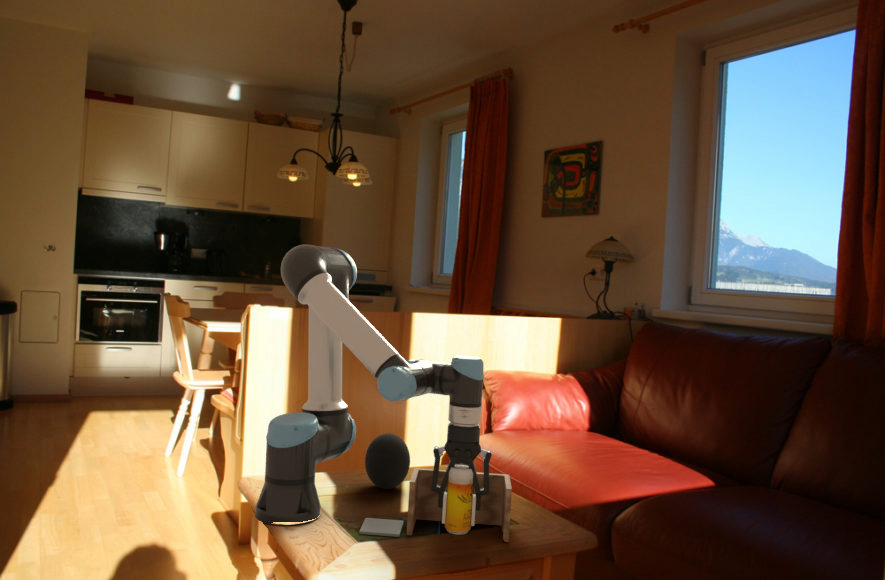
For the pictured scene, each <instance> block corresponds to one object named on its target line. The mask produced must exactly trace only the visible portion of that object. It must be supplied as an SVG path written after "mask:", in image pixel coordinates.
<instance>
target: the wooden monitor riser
mask: <svg viewBox="0 0 885 580" xmlns="http://www.w3.org/2000/svg"><path fill="white" fill-rule="evenodd" d="M446 470H447V469H446ZM446 470H445V469H439V474H438V481H437V485H439V486H440V485H441V483H442V480H443V478H444V475H445V472H446ZM433 471H434V468H422V467H421V468H419V467H413V471H412V474H411V477H410V480H409V485H408V489H409V490H408V501H407V502H408V504H407V506H408V507H407V520H406V536H413V533H414V532H413V531H414V529H415V524H416V520H423V521H433V522H434V521H436V522H442V512H443V508H439V507H438V497H439V494H438V493H437V492H435V491H432V490H431V486H432V478H433ZM476 473H477V477H478V481H479V485H480V489H483V488H484V472H478V471H476ZM511 483H512V482H511V477H510V474H505V473H504V474H502V473H492V472H491V473H490V472H489V494H488V495H483V496H482V497H481V505H480V510H479V511H477V510H475V522H474V525H476V524H477V525H479V524H480V525H489V526H501V532H503V535H502V541H503V540H509V541H510V529H511V527H510V526H511V511H512V509H511V507H512V496H513V495H512V494H513V487H512V484H511ZM444 492H447V486H446V489H445V491H444ZM473 494H476V493H475V489H474V486H473Z"/></svg>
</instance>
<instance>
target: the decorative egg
mask: <svg viewBox="0 0 885 580" xmlns="http://www.w3.org/2000/svg"><path fill="white" fill-rule="evenodd" d="M408 447H409V446H408V445H407V443H406V441H404V439H402V437H400V435H397V434H394V433H391V432H385V433H381V434H380V435H379V434H378V436H375V438H374V439H373V440H372V441H371V442H370V444H369V445H368V447H367V449H366V453H365V456H364V465H365V472H366V475H367V477H368V479H369V480H370V481H371V483H372V484H374V485H375V486H376V487H377V488H380V489H384V490H391V489H394V488H396V487H398V486H400V485H401V484H402V483H403V482H404V480H405V479H406V477H407V476H408V473H409V470H410V465H411V456H410V455H411V454H410V450H409V448H408Z"/></svg>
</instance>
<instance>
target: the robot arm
mask: <svg viewBox="0 0 885 580" xmlns="http://www.w3.org/2000/svg"><path fill="white" fill-rule="evenodd" d="M280 265H281V266H280V275H281V279H282V282H283V283H284V285H285V287H286V289H287V290H288V291H289V293H290V294H291V295H292V296H293V297H294V299H296V300H297V301H298V302H299V303H300V304H301V305H307V306H308V355H307V357H308V361H307V362H308V363H307V364H308V365H307V366H308V367H307V368H308V370H307V371H308V377H307V378H308V379H307V384H308V386H307V387H308V388H307V391H308V393H307V395H308V396H307V398H308V399H307V401H306V402H304V404H303V405H302V406H301V412H300V411H299V412H298V411H296V412H292V413H289V412H288V413H284V414H279V415H277V416H275V417H273V418H272V419H271V420H270V422H269V423H268V427H267V434H266V437H265V438H266V451H265V452H266V453H265V472H264V483H263V486H262V488H261V490H260V491H261V492H260V494H259V497H258V498H257V499H258V500H257V502H256V504H255V513H254V514H255V515H254V517H255V519H257V520H258V521H259V522H262V523H264V524H266V525H272V524H271V523H273V522H303V521H308V520H312V519H315V518H317V517H318V516H319V515H320V516H321V508H322V507H321V505H322V504H321V502H320V499H319V493H318V490H317V487H316V483H315V482H316V465H317V464H319V463H322V462H325V461H328V460H332V459H336V458H338V457H340V456H342V455H344V454H345V453H346V452H347V451H349V450H350V449H351V448H352V446H353V444H354V442H355V439H356V437H357V436H356V434H357V427H356V426H357V425H356V423H355V419H353V418H352V415H351V414H350V413H349V405H348V404H347V403H346V402H345V401H344V399H343V344H344V346H345V347H347V348H348V350H349V351H350V352H351V353H352V354H353V355H354V356H355V358H357V359H358V360H359V362H361V364H362V365H363V366H364V367H365V368H366V369H367V370H368V371H369V372H370V373H371V374H372V375H373V377H374V378H375V379H376V380H377V381H376V382H377V385H376V386H377V389H378V392H379V395H380V396H381V397H382V398H384V399H385V400H386V401H389V402H403V401H407V400H409V399H411V398H415V397H419V396H424V395H427V394H433V395H442V396H448V397H449V402H448V418H447V419H448V421H449V423H447V434H446V442H445V444H444V445H443V446H434V447H433V451H432V452H433V456H434V463H433V469H434V471H433V478H432V486H431V490H432V491H435V492H437V493H438V494H439V497H438V507H439V508H443V512H442V521H441V524H444V525H445V518H446V502H447V492H444V491H445V489H446V486H447V483H448V481H449V471H450V469H451V467H453V468H454V466H455V464H461V463H462V464H465V465H468V466H469V469H472V472H473V485H474V489H475V493H476V494H473V500H472V517H471V527H474V526H475V524H474V522H475V510H477V511H479V510H480V505H481V497H482V496H483V495H488V494H489V473H490V461H491V458H492V450H490V449H487V450H486V449H484V448H482V446H481V445H480V436H481V426H480V425H479V424H480V423H481V422H482V421H481V420H482V408H483V407H482V406H483V405H482V403H483V402H482V401H483V389H484V388H483V387H484V380H485V376H484V360H483V359H482V358H481V357H478V356H473V355H471V356H470V355H455V356H453V357H452V359H451V362H441V361H432V360H431V361H430V360H425V359H409V360H406V359H405V358H404V357H403V356H402V355H401V354H400V353H399V352H398V351H397V349H395V347H393V345H392V344H390V342H388V341H387V339H386V338H385V337H384V336H383V335H382V334H381V333H380V332H379V330H377V329H376V328H375V326H373V325H372V324H371V323H370V321H369V320H368V319H367V318H366V317H365V316H364V315H363V314H362V313H361V312H360V311H359V310H358V309H357V308H356V307H355V306H354V305H353V303H351V302H350V300H349V299H350V295H349V294H350V293H349V291H350V290H351V289H352V287H353V286H354V285H355V283H356V280H357V277H358V276H357V275H358V270H357V265H356V263H355V261H354V259H353V258H352V256H351V255H350V254H349V253H347V252H346V251H345V250H342V249H339V248H336V247H334V246H333V247H331V246H320V245H319V246H318V245H313V244H300V245H297V246H294V247H292V248H291V249H290V250H289V251H287V252H286V253H285V255H284V257H283V258H282V261H281V264H280ZM444 452H445V453H446V454H447V456H448V457H449V459H450V460H449V461H448V464H447V465H448V466H447V468H446V472H445V475H444V478H443V480H442V483H441V485H440V486H439V485H437V481H438V474H439V470H440V466H441V465H440V464H441V457H443V455H444ZM479 455H480V456H481V459H482V460H483V473H484V488H483V489H480V485H479V481H478V477H477V473H476V472H477V470H476V466H475V462H474V461H475V459H476V458H477V457H478V456H479Z"/></svg>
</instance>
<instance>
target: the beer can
mask: <svg viewBox="0 0 885 580" xmlns="http://www.w3.org/2000/svg"><path fill="white" fill-rule="evenodd" d="M473 486H474V485H473V472H472V469H469V466H468V465H465V464H462V463H461V464H455V466H454V468H453V467H451V469H450V471H449V481H448V483H447V502H446V518H445V524H444V528H445V529H446V532H448V533H449V534H452V535H460V536H462V535H466V534H468V533H469V531H470V530H471V528H472V526H471V517H472V500H473Z"/></svg>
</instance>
